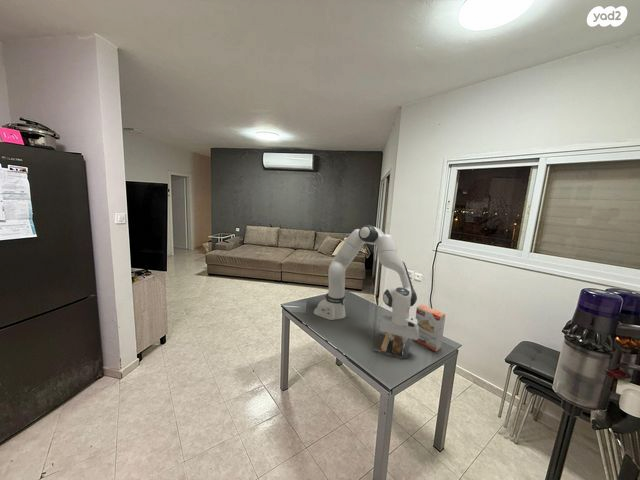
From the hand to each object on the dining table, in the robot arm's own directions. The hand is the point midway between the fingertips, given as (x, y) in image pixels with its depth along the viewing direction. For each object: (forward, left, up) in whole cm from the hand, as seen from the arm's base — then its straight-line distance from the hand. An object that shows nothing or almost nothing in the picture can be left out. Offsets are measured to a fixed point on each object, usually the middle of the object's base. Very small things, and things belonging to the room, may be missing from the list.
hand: (397, 342), depth 133 cm
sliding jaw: (-6, +2, -4) cm, 8 cm away
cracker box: (+15, +13, -5) cm, 20 cm away
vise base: (-3, +2, -4) cm, 6 cm away
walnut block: (0, 0, -5) cm, 5 cm away
